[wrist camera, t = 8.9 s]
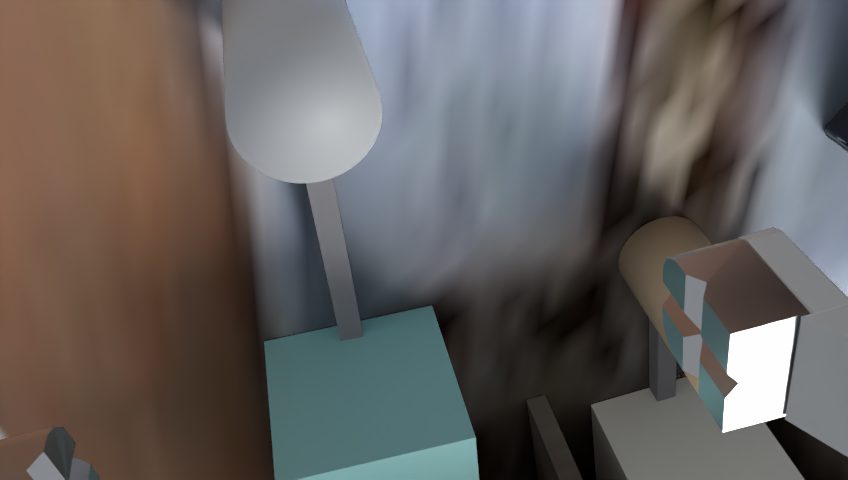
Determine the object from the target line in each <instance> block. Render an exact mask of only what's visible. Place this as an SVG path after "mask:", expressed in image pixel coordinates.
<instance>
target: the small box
mask: <svg viewBox="0 0 848 480" xmlns="http://www.w3.org/2000/svg"><path fill="white" fill-rule="evenodd" d="M825 134H826V135H827V136H828V137H829V138H830V139H831V140H833V141H834V142H836V143H837V144H838V145H840V146H841V147H842V148H843V149H844V150H846V151H847V152H848V104H847V105H846V106H845V107H844V108H843V109H842V110H841V111H840V112H839V114H838V115H837V116H836V117H835V118H834V119H833V120H832V121H831V122H830V123H829V124H828V125H827V127H826V129H825Z"/></svg>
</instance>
